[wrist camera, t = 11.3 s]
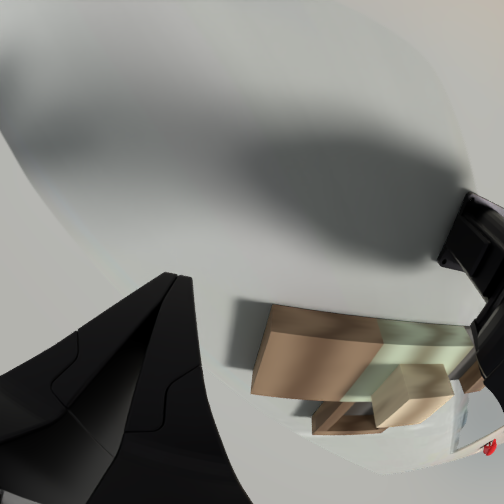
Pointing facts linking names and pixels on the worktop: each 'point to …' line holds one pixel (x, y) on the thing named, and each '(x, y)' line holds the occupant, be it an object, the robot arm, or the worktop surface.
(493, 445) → the cap
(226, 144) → the worktop surface
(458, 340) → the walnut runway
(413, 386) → the beech block
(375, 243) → the worktop surface
